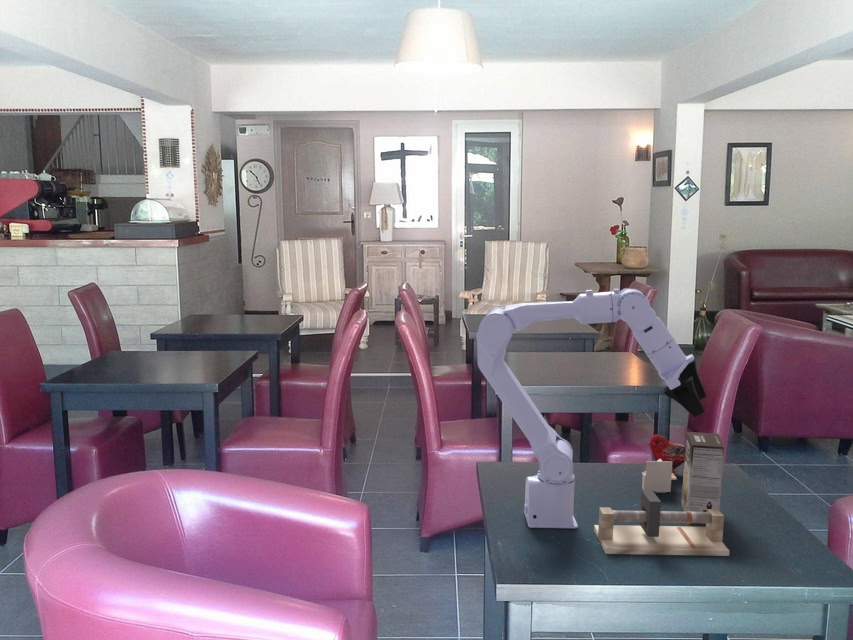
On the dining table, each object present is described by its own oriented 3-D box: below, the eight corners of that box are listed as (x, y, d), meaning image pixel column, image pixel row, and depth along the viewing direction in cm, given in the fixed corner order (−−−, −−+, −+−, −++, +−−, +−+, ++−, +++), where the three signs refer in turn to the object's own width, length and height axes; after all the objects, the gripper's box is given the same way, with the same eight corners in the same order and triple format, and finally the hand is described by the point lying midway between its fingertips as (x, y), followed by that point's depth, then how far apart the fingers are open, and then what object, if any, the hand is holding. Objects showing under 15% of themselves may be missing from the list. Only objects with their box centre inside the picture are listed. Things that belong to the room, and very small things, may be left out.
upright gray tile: (647, 536, 137) (649, 501, 136) (639, 524, 142) (641, 490, 141) (658, 536, 137) (661, 501, 136) (650, 524, 142) (652, 490, 141)
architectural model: (640, 488, 168) (641, 456, 167) (671, 488, 168) (673, 456, 167) (643, 494, 165) (645, 461, 164) (675, 494, 164) (678, 462, 163)
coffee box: (680, 504, 158) (685, 430, 155) (712, 507, 156) (718, 432, 154) (685, 522, 149) (691, 444, 146) (720, 526, 148) (726, 446, 145)
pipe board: (605, 553, 135) (607, 521, 134) (593, 529, 145) (595, 499, 144) (729, 555, 135) (731, 523, 134) (708, 531, 145) (711, 501, 144)
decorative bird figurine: (641, 475, 174) (643, 434, 173) (702, 466, 181) (705, 426, 179) (649, 480, 172) (652, 437, 170) (710, 470, 178) (713, 429, 177)
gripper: (675, 347, 132) (719, 411, 132) (681, 324, 145) (721, 382, 145) (640, 366, 135) (683, 428, 135) (649, 342, 148) (688, 399, 148)
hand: (700, 406), depth 140 cm, fingers open, 7 cm apart
